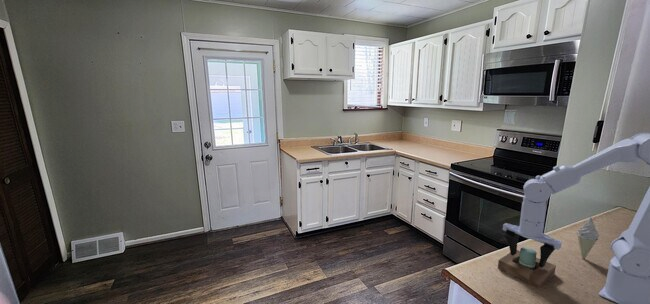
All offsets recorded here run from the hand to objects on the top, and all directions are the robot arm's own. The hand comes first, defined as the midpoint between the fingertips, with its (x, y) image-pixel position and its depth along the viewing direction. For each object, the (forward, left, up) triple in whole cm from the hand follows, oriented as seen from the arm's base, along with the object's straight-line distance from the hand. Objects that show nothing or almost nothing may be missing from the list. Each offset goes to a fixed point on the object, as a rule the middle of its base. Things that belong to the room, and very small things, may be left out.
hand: (527, 259), depth 83 cm
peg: (0, 0, -4) cm, 4 cm away
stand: (0, 0, -4) cm, 4 cm away
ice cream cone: (-7, -23, -4) cm, 25 cm away
